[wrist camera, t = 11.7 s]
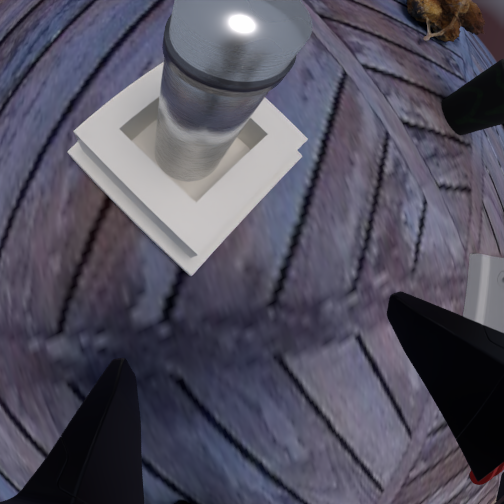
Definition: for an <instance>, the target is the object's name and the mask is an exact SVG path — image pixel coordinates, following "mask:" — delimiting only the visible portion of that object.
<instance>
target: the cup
mask: <svg viewBox="0 0 504 504" xmlns="http://www.w3.org/2000/svg"><path fill="white" fill-rule="evenodd" d="M442 110H443V113H444V116H445V118H446V120H447V122H448V124H449V125H450V127H451V128H452V129H453V130H454V131H455V132H456V133H457V134H459V135H464V134H467V133H471V132H475V131H478V130H482V129H485V128H489V127H493V126H497V125H500V124H504V59H501V60H500V61H499V62H497V63H496V64H494V65H493V66H491V67H490V68H488V69H487V70H485V71H484V72H482V73H481V74H480V75H478V76H477V77H475V78H474V79H472V80H471V81H469V82H468V83H467V84H465V85H464V86H462V87H461V88H459V89H458V90H456V91H455V92H454V93H452V94H451V95H449V96H448V97H446V98H445V99H444V100H443V101H442Z"/></svg>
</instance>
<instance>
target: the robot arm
mask: <svg viewBox="0 0 504 504" xmlns="http://www.w3.org/2000/svg"><path fill="white" fill-rule="evenodd" d="M387 317H388V320H389V322H390V324H391V325H392V327H393V329H394V331H395V333H396V335H397V337H398V339H399V342H400V344H401V346H402V348H403V349H404V351H405V353H406V355H407V356H408V358H409V360H410V361H411V363H412V364H413V366H414V368H415V369H416V371H417V373H418V374H419V376H420V377H421V379H422V381H423V382H424V384H425V386H426V387H427V389H428V391H429V393H430V394H431V396H432V398H433V399H434V401H435V403H436V405H437V406H438V408H439V410H440V412H441V413H442V415H443V417H444V419H445V420H446V422H447V424H448V426H449V428H450V429H451V431H452V433H453V435H454V437H455V439H456V441H457V443H458V445H459V446H460V448H461V450H462V452H463V454H464V456H465V458H466V460H467V462H468V464H469V466H470V468H471V470H472V472H473V474H474V476H475V478H476V480H477V481H478V482H479V481H480V480H482V479H483V478H484V477H486V476H487V475H488V474H489V473H491V472H492V471H493V470H494V469H496V468H497V467H498V466H499V465H501V464H502V463H503V462H504V333H503V332H500V331H498V330H495V329H492V328H490V327H488V326H485V325H482V324H480V323H478V322H475V321H473V320H471V319H468V318H466V317H463V316H461V315H458V314H456V313H454V312H451V311H449V310H446V309H444V308H441V307H439V306H436V305H434V304H431V303H429V302H426V301H424V300H421V299H419V298H416V297H414V296H411V295H409V294H406V293H404V292H397V293H394V294H392V295H391V296H390V298H389V304H388V309H387ZM61 436H62V437H60V438H59V440H58V441H57V443H56V444H55V446H54V447H53V449H52V450H51V452H50V453H49V455H48V456H47V458H46V459H45V460H44V462H43V463H42V464H41V466H40V467H39V468H38V469H37V471H36V472H35V473H34V475H33V476H32V477H31V478H30V480H29V481H28V482H27V484H26V485H25V486H24V488H23V489H22V490H21V491H20V492H19V493H18V494H17V495H16V496H14V497H13V498H11V499H8V500H6V501H2V502H0V504H144V493H143V479H142V459H141V421H140V411H139V403H138V393H137V383H136V377H135V374H134V372H133V371H132V369H131V367H130V365H129V364H128V362H127V360H126V359H124V358H120V359H114V360H112V361H111V363H110V364H109V366H108V367H107V368H106V370H105V371H104V373H103V374H102V376H101V377H100V378H99V380H98V381H97V383H96V384H95V386H94V387H93V389H92V390H91V392H90V393H89V394H88V396H87V397H86V399H85V400H84V402H83V403H82V405H81V406H80V408H79V409H78V411H77V412H76V414H75V415H74V417H73V418H72V420H71V421H70V423H69V424H68V426H67V427H66V429H65V430H64V432H63V434H62V435H61ZM175 504H190V503H188V502H186V501H177V502H176V503H175ZM495 504H504V472H503V473H502V476H501V481H500V486H499V490H498V495H497V500H496V503H495Z"/></svg>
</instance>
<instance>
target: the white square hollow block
mask: <svg viewBox="0 0 504 504" xmlns="http://www.w3.org/2000/svg"><path fill="white" fill-rule="evenodd" d="M163 65H164V62H163V63H161V64H160V65H158V66H157V67H155V68H154V69H152V70H151V71H149V72H148V73H146V74H145V75H144V76H142V77H141V78H139V79H138V80H136V81H135V82H134V83H132V84H131V85H129V86H128V87H127V88H125V89H124V90H123V91H121V92H120V93H119V94H117V95H116V96H115V97H114V98H112V99H111V100H110V101H108V102H107V103H106V104H105V105H104V106H102V107H101V108H100V109H99V110H97V111H96V112H95V113H94V114H93V115H91V116H90V117H89V118H88V119H87V120H86V121H84V122H83V123H82V124H81V125H80V126H79V127H78V128H77V129H75V130H74V134H75V136H76V138H77V140H78V142H77V143H76V144H75V145H74V146H73V147H72V148H71V149H70V150H69V151H68V154H69V155H70V157H71V158H72V159H73V160H74V161H75V162H76V163H77V164H78V166H79V167H80V168H81V169H82V170H83V171H84V172H85V173H86V174H87V175H88V176H89V177H90V178H91V179H92V180H93V182H94V183H95V184H96V185H97V186H98V187H99V188H100V189H101V190H102V191H103V192H104V193H105V194H106V195H107V196H108V197H109V198H110V199H111V200H112V201H113V202H114V203H115V204H116V205H117V206H118V207H119V208H120V209H121V210H122V211H123V212H124V213H125V214H126V215H127V216H128V217H129V218H130V219H131V220H132V221H133V222H134V223H135V224H136V225H137V226H138V227H139V228H140V229H141V230H142V231H143V232H144V233H145V234H146V235H147V236H148V237H149V238H150V239H151V240H152V241H153V242H154V243H155V244H156V245H157V246H158V247H159V248H160V249H161V250H162V251H164V252H165V253H166V254H167V255H168V256H169V257H170V258H171V259H172V260H173V261H174V262H175V263H176V264H177V265H178V266H179V267H181V268H182V269H183V270H184V271H185V272H186V273H187V274H188V275H189V276H192V275H193V274H194V273H195V272H196V271H197V270H198V268H199V267H200V266H201V265H202V264H203V263H204V262H205V261H206V260H207V258H208V257H209V256H210V255H211V254H212V253H213V252H214V251H215V250H216V248H217V247H218V246H219V245H220V244H221V243H222V242H223V241H224V240H225V239H226V237H227V236H228V235H229V234H230V233H231V232H232V231H233V230H234V229H235V228H236V227H237V225H238V224H239V223H240V222H241V221H242V220H243V219H244V218H245V217H246V216H247V215H248V213H249V212H250V211H251V210H252V209H253V208H254V207H255V206H256V205H257V204H258V203H259V202H260V201H261V199H262V198H263V197H264V196H265V195H266V194H267V193H268V192H269V191H270V190H271V189H272V188H273V187H274V186H275V185H276V183H277V182H278V181H279V180H280V179H281V178H282V177H283V176H284V175H285V174H286V173H287V172H288V171H289V170H290V169H291V168H292V167H293V166H294V164H295V163H296V162H297V161H298V160H299V159H300V158H301V157H302V155H301V154H300V153H299V152H298V151H297V150H298V149H299V148H300V147H301V146H302V145H303V144H304V143H305V142H306V141H307V140H308V139H307V138H306V137H305V136H304V135H303V134H302V133H301V132H300V131H299V130H298V129H297V128H296V127H295V126H294V125H293V124H292V123H291V122H290V121H289V120H288V119H287V118H286V117H285V116H284V115H283V114H282V113H281V112H280V111H279V110H278V109H277V108H276V107H275V106H274V105H273V104H272V103H270V102H269V101H268V100H267V99H266V98H265V97H264V99H263V100H262V102H261V103H260V104H259V106H258V107H257V109H256V110H255V112H254V113H253V114H252V116H251V117H250V119H249V120H248V122H247V123H246V124H245V126H244V127H243V129H242V130H241V132H240V133H239V135H238V136H237V138H236V139H235V141H234V142H233V144H232V145H231V147H230V148H229V150H228V151H227V153H226V154H225V156H224V157H223V159H222V160H221V162H220V163H219V165H218V167H217V168H216V169H215V170H214V172H213V173H211V174H210V175H209V176H207V177H206V178H203V179H201V180H198V181H192V182H186V181H180V180H177V179H174V178H172V177H170V176H169V175H167V174H166V173H165V172H164V171H163V170H162V169H161V168H160V166H159V165H158V163H157V161H156V157H155V138H156V126H157V115H158V105H159V96H160V87H161V79H162V72H163Z"/></svg>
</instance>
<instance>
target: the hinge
mask: <svg viewBox="0 0 504 504" xmlns="http://www.w3.org/2000/svg"><path fill="white" fill-rule="evenodd" d="M463 317H466V318H468V319H471V320H473V321H475V322H478V323H480V324H482V325H485V326H488V327H490V328H492V329H495V330H498V331H500V332H503V333H504V258H499V257H493V256H488V255H484V254H470V258H469V270H468V281H467V290H466V298H465V305H464V312H463Z"/></svg>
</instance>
